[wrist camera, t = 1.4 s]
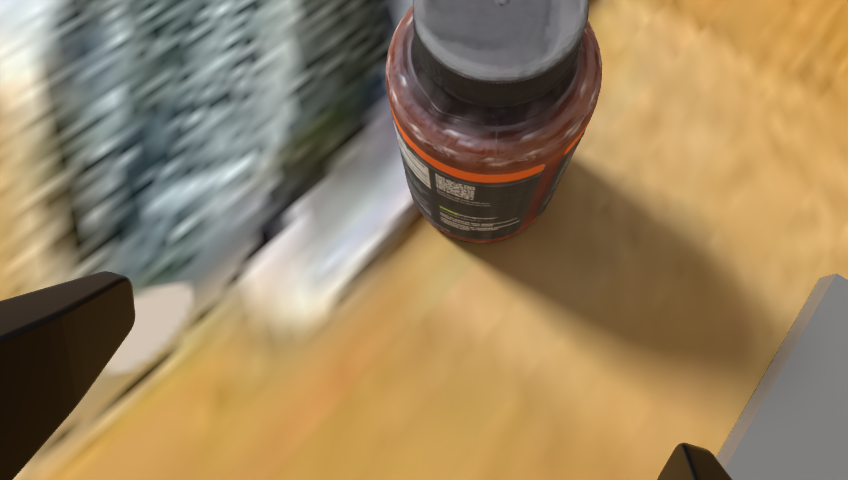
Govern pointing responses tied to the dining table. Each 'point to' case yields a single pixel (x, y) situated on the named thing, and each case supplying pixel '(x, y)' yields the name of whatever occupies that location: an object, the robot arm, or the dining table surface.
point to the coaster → (799, 400)
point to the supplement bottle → (490, 107)
